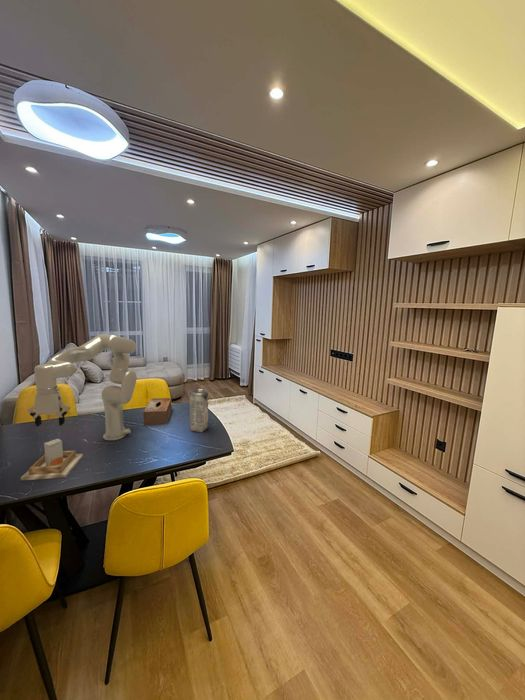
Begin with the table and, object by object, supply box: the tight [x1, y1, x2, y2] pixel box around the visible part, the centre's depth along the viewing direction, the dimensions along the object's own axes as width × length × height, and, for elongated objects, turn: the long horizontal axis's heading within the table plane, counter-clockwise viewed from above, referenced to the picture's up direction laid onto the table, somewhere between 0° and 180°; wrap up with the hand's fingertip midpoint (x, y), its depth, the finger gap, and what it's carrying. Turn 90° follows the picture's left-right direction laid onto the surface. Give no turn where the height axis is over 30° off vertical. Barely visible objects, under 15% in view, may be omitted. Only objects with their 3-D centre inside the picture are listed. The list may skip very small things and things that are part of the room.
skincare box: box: [43, 438, 64, 466], centre depth 134 cm, size 6×4×12 cm
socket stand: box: [20, 450, 84, 481], centre depth 135 cm, size 18×18×4 cm
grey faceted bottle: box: [189, 388, 209, 433], centre depth 179 cm, size 9×10×27 cm
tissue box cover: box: [142, 397, 173, 427], centre depth 197 cm, size 26×14×10 cm, turn 11°
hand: (50, 424), depth 131 cm, fingers open, 9 cm apart
